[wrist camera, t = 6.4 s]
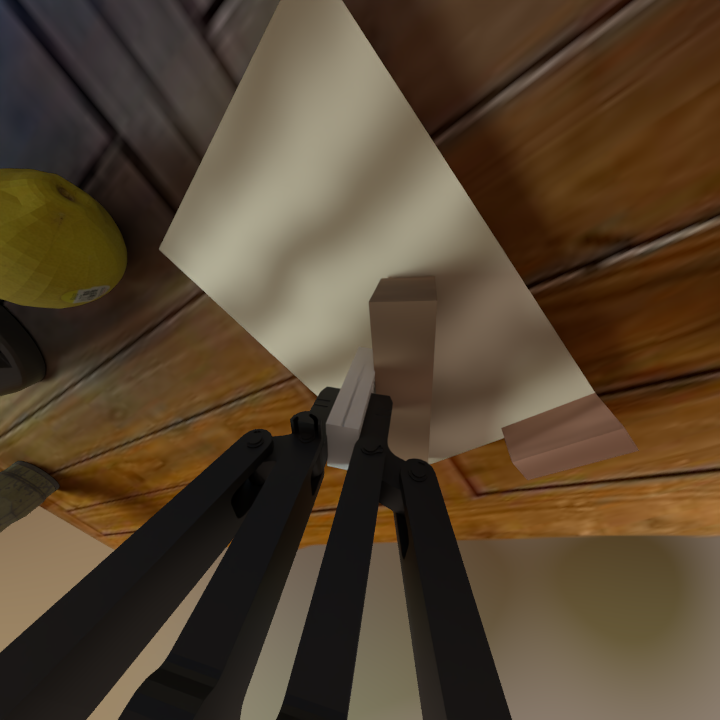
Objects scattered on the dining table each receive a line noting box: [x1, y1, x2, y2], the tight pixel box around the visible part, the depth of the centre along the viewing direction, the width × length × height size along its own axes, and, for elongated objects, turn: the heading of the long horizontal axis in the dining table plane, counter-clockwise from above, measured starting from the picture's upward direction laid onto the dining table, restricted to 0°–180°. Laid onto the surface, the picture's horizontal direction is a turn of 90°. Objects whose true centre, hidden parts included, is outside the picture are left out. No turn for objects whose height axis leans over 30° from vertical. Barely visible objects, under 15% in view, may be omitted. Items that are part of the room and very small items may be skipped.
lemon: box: [0, 168, 127, 309], centre depth 18 cm, size 11×8×8 cm
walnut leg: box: [369, 276, 437, 463], centre depth 17 cm, size 16×3×5 cm, turn 6°
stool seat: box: [159, 0, 639, 480], centre depth 17 cm, size 27×16×6 cm, turn 43°
